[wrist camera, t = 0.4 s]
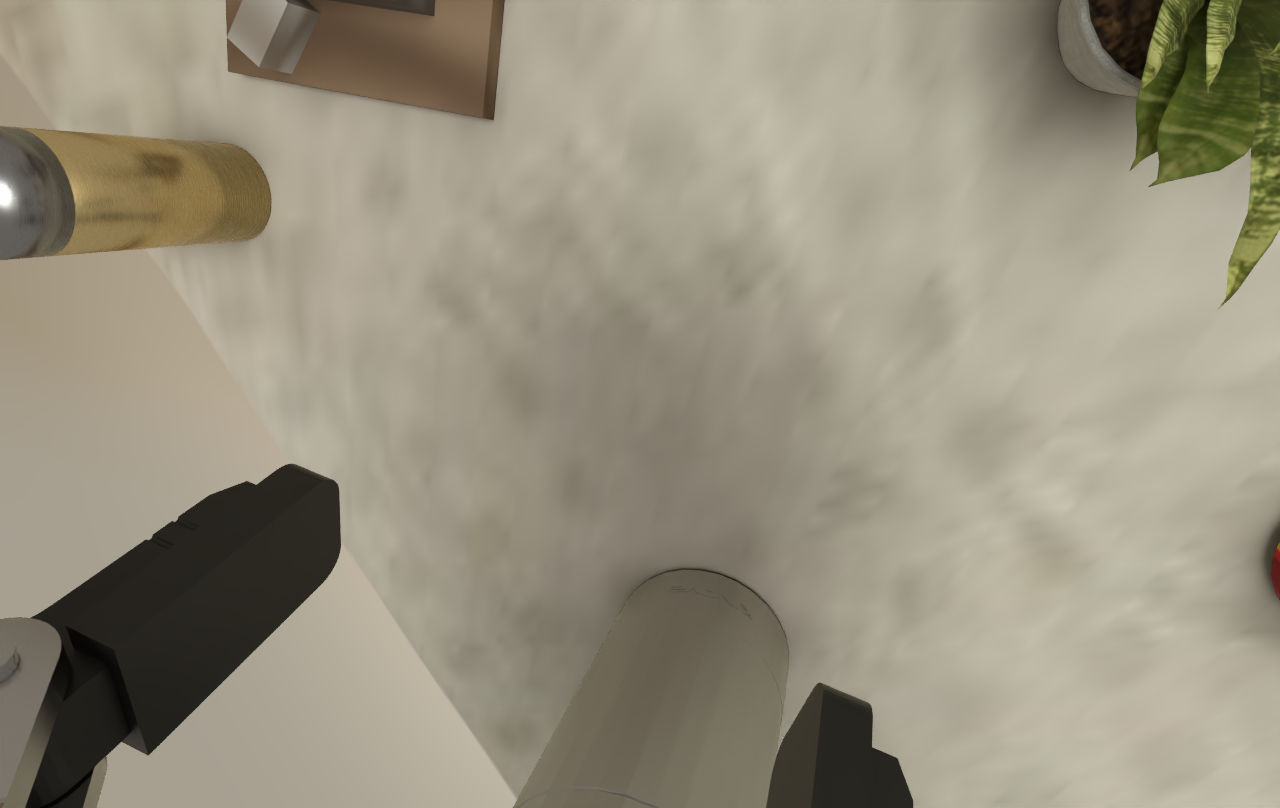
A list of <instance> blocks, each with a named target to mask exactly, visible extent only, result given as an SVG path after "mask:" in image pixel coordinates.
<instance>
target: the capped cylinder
mask: <svg viewBox="0 0 1280 808" xmlns="http://www.w3.org/2000/svg"><path fill="white" fill-rule="evenodd" d="M270 210H271V195H270V189H269V185H268V182H267V179H266V176H265V174H264V172H263V170H262V169H261V167H260V165H259V164H258V163H257V161H256V160H255V159H254V158H253V157H252V156H251V155H250V154H249V153H248V152H246V151H245V150H243V149H242V148H240V147H238V146H235V145H232V144H224V143H211V142H198V141H185V140H173V139H160V138H147V137H134V136H121V135H108V134H96V133H83V132H70V131H57V130H44V129H32V128H19V127H6V126H0V260H7V259H20V258H32V257H45V256H57V255H70V254H82V253H95V252H108V251H120V250H133V249H146V248H159V247H171V246H184V245H196V244H209V243H221V242H234V241H245V240H249V239H252V238H254V237H256V236H257V235H258V234H260V233H261V231H262V230H263V229H264V227H265V226H266V224H267V222H268V219H269V216H270Z"/></svg>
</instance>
